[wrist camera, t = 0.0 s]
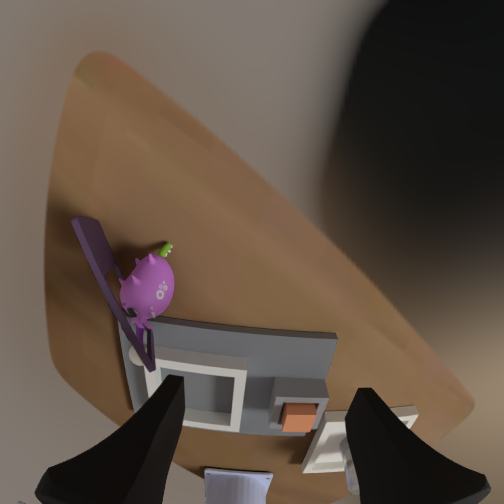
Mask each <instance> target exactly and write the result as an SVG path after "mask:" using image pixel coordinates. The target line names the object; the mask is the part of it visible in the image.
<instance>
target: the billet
mask: <svg viewBox="0 0 504 504" xmlns="http://www.w3.org/2000/svg"><path fill="white" fill-rule="evenodd" d="M339 447H340V452H341V456H342V461H343V466H344V470H345V475H346V480H347V485H348V490H349V493H351V494H360V493H359V485H358V480H357V475H356V471H355V468H354V464H353V460H352V456H351V453H350V449H349V445H348V441H347V436H346V437H345V438H344V439H343V440H342V441H341V442H340V444H339Z"/></svg>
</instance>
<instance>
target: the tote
mask: <svg viewBox="0 0 504 504" xmlns="http://www.w3.org/2000/svg"><path fill="white" fill-rule="evenodd" d="M390 409H391V410H392V411H393V413H394V414H395V415H396V416H397V417H398V418H399V419H400V420H401V421H402V422H403V423H404V424H405V425H406V426H407V427H408V428H409V429H410V427H411V426H412V424H413V423H414V421H415V420H416V418H417V417H418V415H419V414H418V412H417V410H416V407H415V405H412V406H404V407H394V408H390ZM347 412H348V411H324V414H323V416H322V419H321V421H320V424H319V426H318V428H317V431H316V433H315V435H314V438H313V440H312V442H311V445H310V447H309V449H308V451H307V454H306V456H305V458H304V460H303V462H302V469H303V473H320V472H336V471H345V470H344V466H343V461H342V456H341V452H340V447H339V444H340V442H341V441H342V440H343V439H344V438H345V437H346V428H345V419H344V418H345V416H346V414H347Z"/></svg>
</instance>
